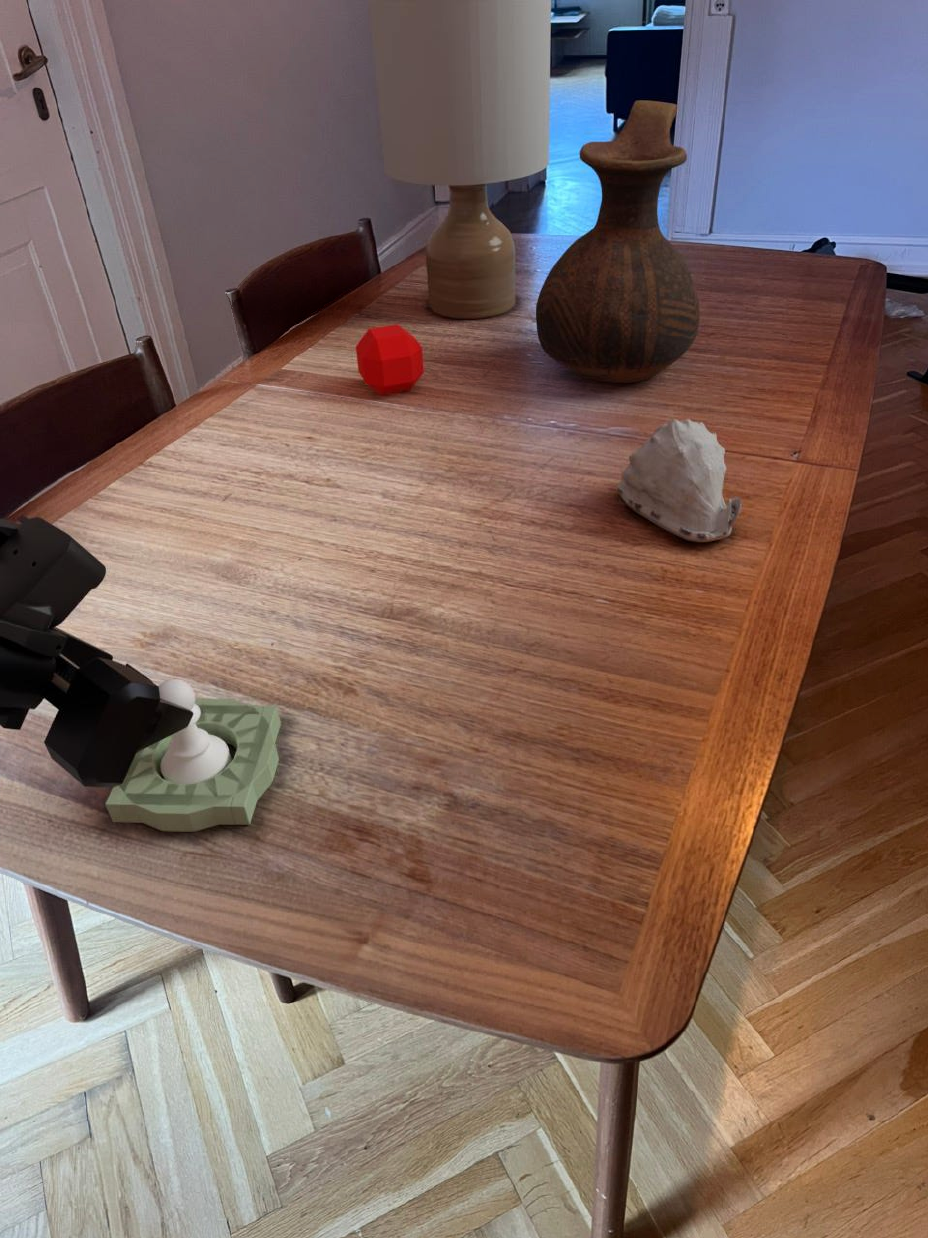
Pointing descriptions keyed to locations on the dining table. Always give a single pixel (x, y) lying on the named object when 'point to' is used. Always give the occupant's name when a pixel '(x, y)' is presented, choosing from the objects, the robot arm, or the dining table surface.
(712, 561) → the dining table surface
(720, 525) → the seashell
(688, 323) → the jug
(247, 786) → the pad
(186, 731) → the chess pawn
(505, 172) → the lamp
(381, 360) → the ball
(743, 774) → the dining table surface
